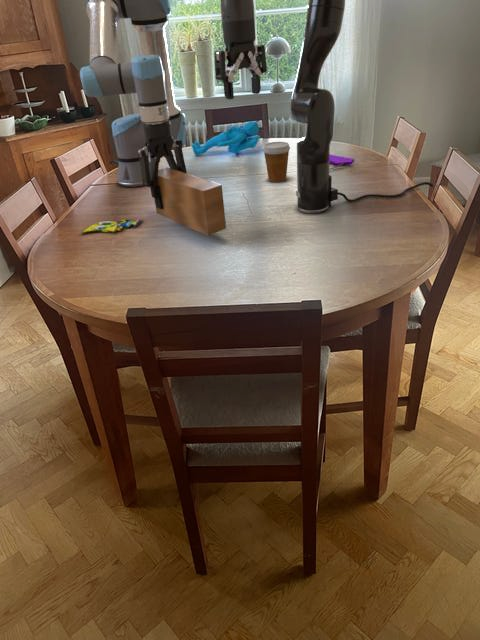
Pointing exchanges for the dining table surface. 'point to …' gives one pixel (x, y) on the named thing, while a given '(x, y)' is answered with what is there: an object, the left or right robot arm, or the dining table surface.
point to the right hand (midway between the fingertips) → (243, 96)
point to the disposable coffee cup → (276, 160)
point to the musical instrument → (340, 160)
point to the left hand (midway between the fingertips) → (169, 204)
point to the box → (191, 201)
